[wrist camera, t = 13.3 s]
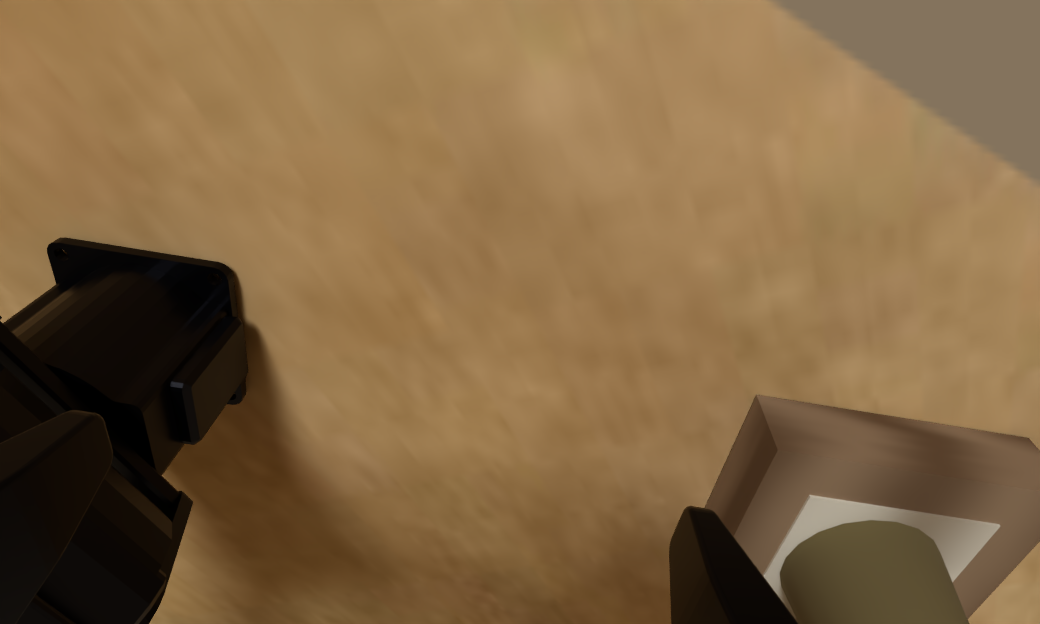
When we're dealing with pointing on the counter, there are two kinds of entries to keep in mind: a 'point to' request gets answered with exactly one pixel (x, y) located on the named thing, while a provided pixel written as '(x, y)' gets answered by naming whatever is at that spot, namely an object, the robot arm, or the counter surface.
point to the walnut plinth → (880, 488)
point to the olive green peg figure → (870, 577)
